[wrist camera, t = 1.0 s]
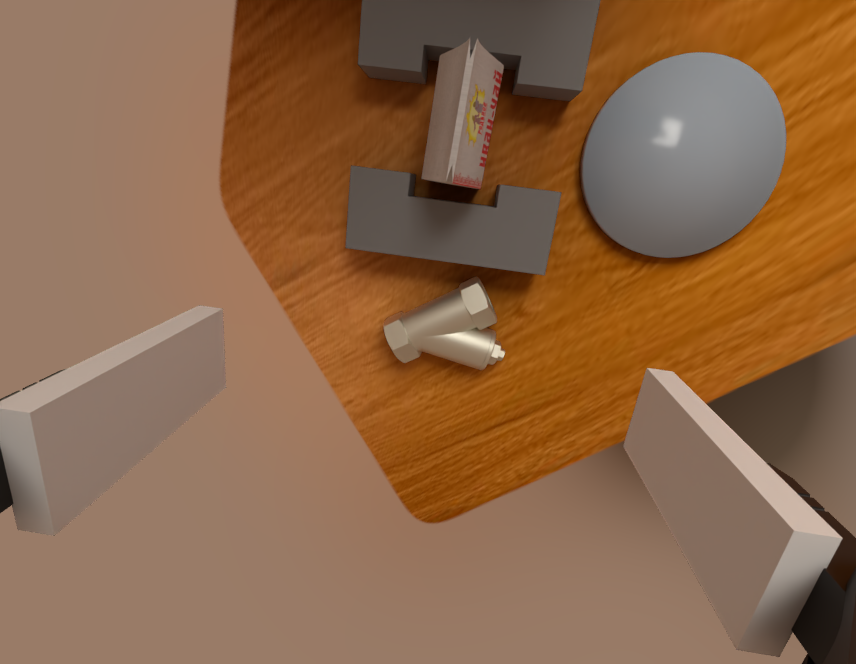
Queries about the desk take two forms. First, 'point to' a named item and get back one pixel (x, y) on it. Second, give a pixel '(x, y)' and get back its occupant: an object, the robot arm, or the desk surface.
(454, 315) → the pipe fitting
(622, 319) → the desk surface
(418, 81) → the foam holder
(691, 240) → the blue-grey round plate
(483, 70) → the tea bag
